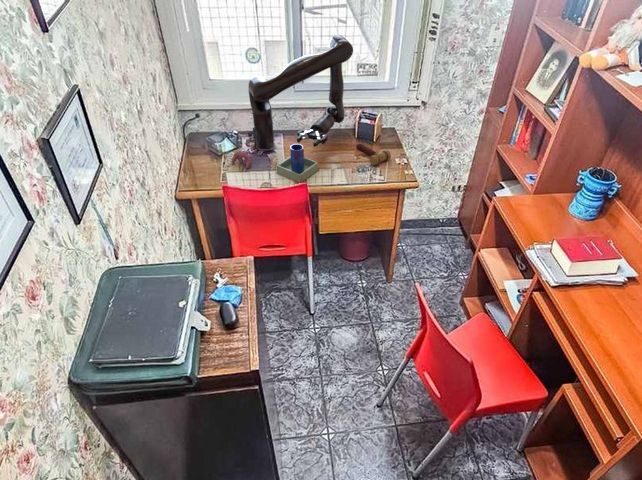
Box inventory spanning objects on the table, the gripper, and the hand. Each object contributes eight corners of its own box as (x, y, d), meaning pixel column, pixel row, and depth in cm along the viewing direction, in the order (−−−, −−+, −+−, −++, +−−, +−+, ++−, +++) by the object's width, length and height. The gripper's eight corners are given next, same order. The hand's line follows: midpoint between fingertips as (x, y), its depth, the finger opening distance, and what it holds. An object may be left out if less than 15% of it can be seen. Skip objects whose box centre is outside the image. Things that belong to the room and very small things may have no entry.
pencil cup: (288, 171, 221) (287, 147, 212) (296, 165, 224) (295, 142, 215) (298, 175, 219) (297, 152, 210) (306, 169, 222) (306, 146, 213)
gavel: (348, 142, 235) (363, 136, 239) (348, 151, 238) (363, 145, 242) (375, 158, 223) (391, 151, 227) (375, 166, 226) (390, 160, 230)
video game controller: (252, 168, 225) (254, 153, 222) (247, 168, 221) (249, 153, 218) (235, 163, 227) (237, 148, 225) (230, 163, 223) (231, 148, 221)
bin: (276, 173, 220) (276, 165, 217) (295, 160, 228) (294, 153, 225) (300, 183, 215) (299, 175, 212) (318, 170, 223) (318, 162, 220)
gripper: (307, 117, 229) (292, 131, 219) (334, 124, 226) (319, 139, 216) (307, 132, 235) (293, 146, 225) (333, 138, 231) (319, 153, 221)
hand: (306, 142), depth 220 cm, fingers open, 8 cm apart
